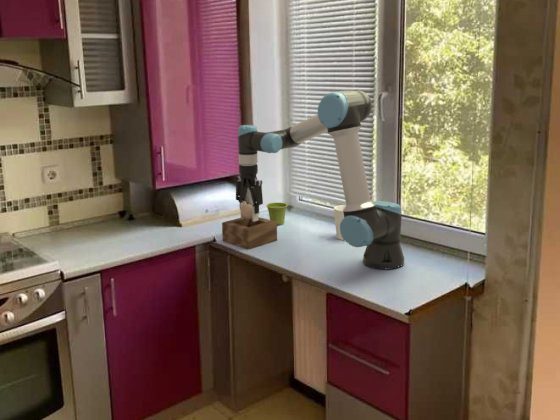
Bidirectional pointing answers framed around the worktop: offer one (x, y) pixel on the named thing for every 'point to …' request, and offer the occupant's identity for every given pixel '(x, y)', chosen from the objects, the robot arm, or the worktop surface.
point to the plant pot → (277, 212)
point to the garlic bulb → (246, 211)
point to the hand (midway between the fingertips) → (249, 219)
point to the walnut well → (249, 232)
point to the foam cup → (338, 219)
